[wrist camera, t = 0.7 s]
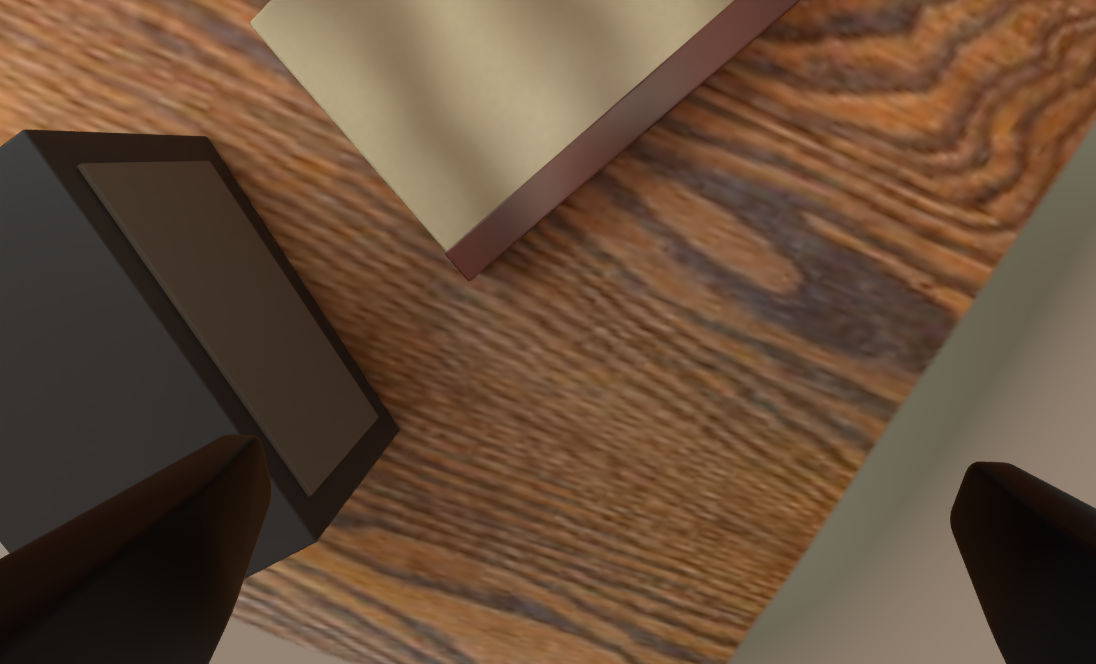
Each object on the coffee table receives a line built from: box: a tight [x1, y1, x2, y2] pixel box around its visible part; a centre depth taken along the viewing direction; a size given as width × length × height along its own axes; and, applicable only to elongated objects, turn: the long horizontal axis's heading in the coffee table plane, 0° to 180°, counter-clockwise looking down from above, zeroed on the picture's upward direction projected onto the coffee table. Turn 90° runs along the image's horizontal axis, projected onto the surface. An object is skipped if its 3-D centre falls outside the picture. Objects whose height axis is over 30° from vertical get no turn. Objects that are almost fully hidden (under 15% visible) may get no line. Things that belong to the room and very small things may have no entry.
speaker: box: [0, 130, 399, 579], centre depth 21 cm, size 12×8×8 cm
